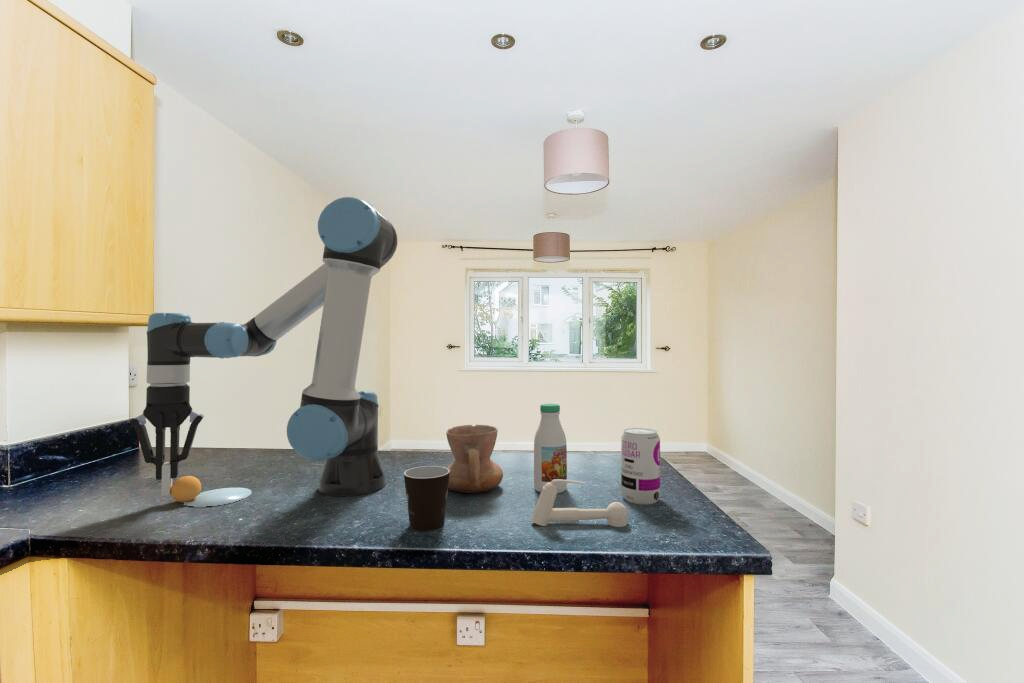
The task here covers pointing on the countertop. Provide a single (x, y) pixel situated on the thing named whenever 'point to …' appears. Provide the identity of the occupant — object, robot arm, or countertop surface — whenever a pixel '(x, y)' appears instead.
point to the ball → (185, 488)
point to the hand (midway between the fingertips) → (166, 493)
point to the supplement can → (640, 466)
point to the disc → (219, 497)
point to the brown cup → (426, 496)
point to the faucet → (574, 509)
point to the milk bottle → (550, 449)
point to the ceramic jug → (473, 459)
